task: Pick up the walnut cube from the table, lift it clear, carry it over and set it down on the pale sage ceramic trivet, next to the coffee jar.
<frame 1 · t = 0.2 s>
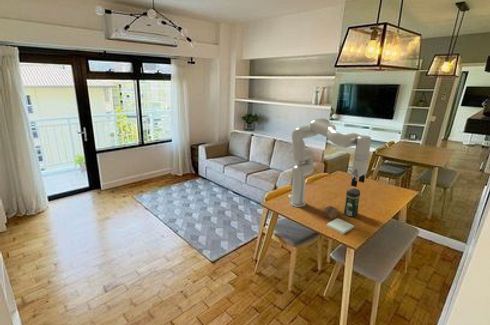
hand: (357, 184, 154), 31 cm above the table, fingers open, 9 cm apart
walnut cube: (330, 216, 178), on the table
trivet: (340, 226, 165), on the table
coffee jar: (350, 214, 181), on the table
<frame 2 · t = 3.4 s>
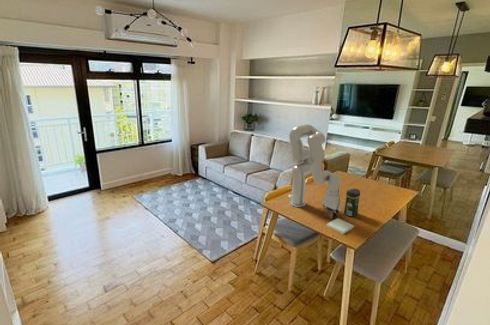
hand: (330, 215, 178), 1 cm above the table, fingers closed on walnut cube, 6 cm apart
walnut cube: (330, 216, 178), on the table, touching gripper
everything else where it was.
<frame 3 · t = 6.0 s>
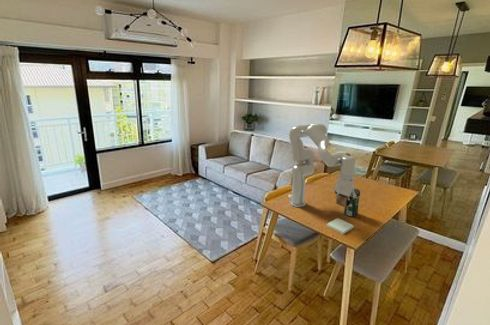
hand: (343, 203, 160), 17 cm above the table, fingers closed on walnut cube, 6 cm apart
walnut cube: (343, 204, 160), point 16 cm above the table, touching gripper
everything else where it was.
when the fingers open (4 cm above the table, at t = 8.8 s): walnut cube drops 2 cm, resting on trivet.
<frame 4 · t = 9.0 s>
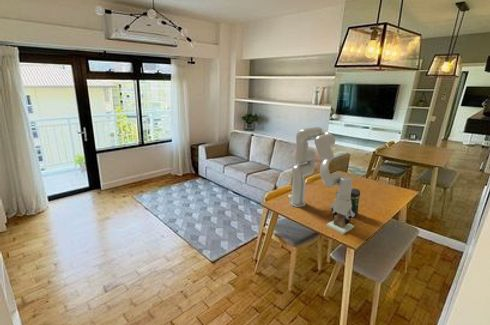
hand: (340, 220, 164), 4 cm above the table, fingers open, 8 cm apart
walnut cube: (340, 224, 165), point 2 cm above the table, touching trivet
everything else where it was.
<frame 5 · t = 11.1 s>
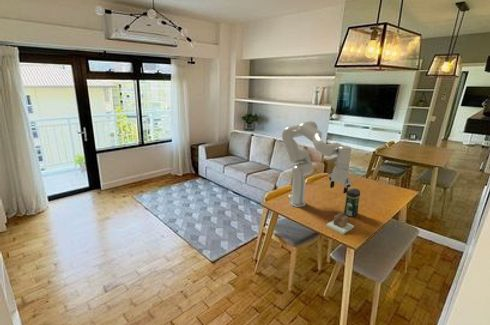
hand: (338, 190, 166), 22 cm above the table, fingers open, 9 cm apart
nothing on the table moved.
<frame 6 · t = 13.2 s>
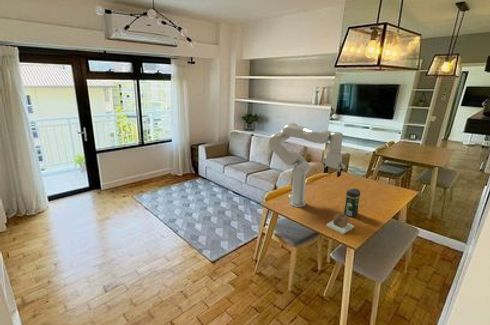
hand: (332, 174, 176), 28 cm above the table, fingers open, 9 cm apart
nothing on the table moved.
at the end: walnut cube inside the target area on the trivet (0.1 cm from its centre), point 1.6 cm above the trivet's base; walnut cube tilted 0°; the gripper is holding nothing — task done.
